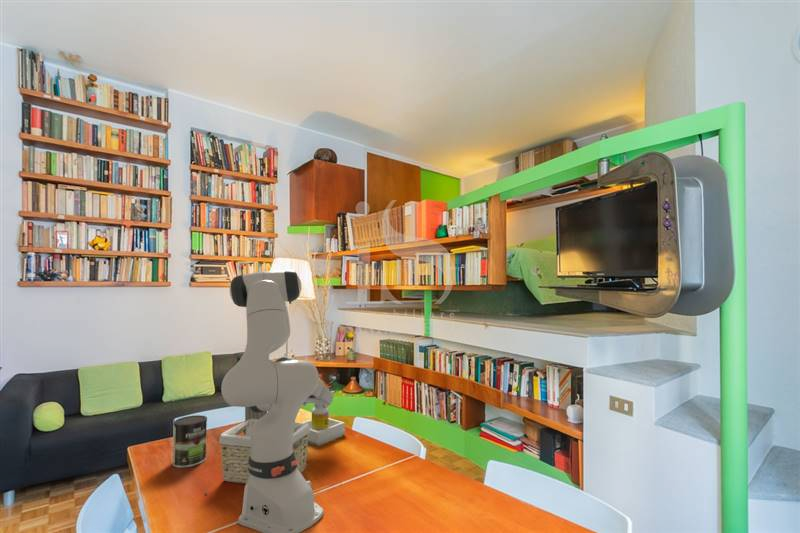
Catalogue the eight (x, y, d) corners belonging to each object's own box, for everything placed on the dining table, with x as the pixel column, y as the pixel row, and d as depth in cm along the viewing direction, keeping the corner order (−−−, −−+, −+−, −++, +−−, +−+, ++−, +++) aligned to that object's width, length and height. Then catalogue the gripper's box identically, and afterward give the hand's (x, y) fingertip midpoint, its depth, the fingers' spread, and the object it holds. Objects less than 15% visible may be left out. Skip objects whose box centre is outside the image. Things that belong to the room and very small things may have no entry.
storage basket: (216, 482, 121) (216, 433, 121) (249, 460, 136) (250, 417, 137) (284, 492, 114) (284, 441, 115) (311, 468, 130) (311, 422, 130)
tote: (344, 435, 158) (344, 422, 159) (317, 446, 147) (317, 432, 147) (321, 427, 167) (321, 415, 167) (294, 437, 156) (294, 425, 156)
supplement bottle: (326, 437, 154) (326, 403, 154) (309, 437, 154) (310, 403, 154) (329, 430, 160) (329, 399, 161) (313, 430, 160) (313, 399, 161)
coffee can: (211, 459, 136) (212, 418, 137) (180, 470, 128) (181, 427, 129) (197, 452, 143) (198, 413, 143) (167, 462, 134) (168, 420, 135)
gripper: (275, 391, 149) (291, 410, 158) (320, 396, 142) (335, 415, 150) (282, 377, 154) (298, 395, 162) (327, 381, 146) (340, 400, 155)
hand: (316, 405), depth 156 cm, fingers open, 8 cm apart
